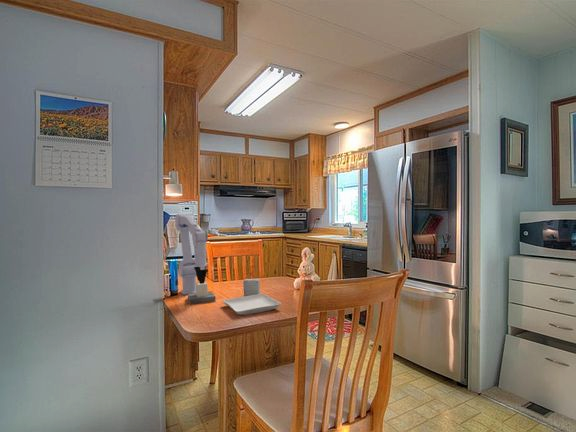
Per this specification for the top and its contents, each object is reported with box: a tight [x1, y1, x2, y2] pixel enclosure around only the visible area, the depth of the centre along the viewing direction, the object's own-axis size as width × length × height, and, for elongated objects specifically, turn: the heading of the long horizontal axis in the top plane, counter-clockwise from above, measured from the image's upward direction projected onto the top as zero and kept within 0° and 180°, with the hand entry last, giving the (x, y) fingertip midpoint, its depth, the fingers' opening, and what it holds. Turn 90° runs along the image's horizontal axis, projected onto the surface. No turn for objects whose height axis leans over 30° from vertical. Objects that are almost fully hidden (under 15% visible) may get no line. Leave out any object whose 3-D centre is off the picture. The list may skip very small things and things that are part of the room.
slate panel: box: [187, 290, 217, 305], centre depth 162 cm, size 12×12×3 cm
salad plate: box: [222, 293, 282, 316], centre depth 147 cm, size 21×21×3 cm
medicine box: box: [242, 278, 261, 297], centre depth 167 cm, size 8×4×9 cm, turn 84°
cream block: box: [196, 281, 209, 297], centre depth 162 cm, size 5×5×6 cm
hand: (200, 281), depth 162 cm, fingers open, 7 cm apart
